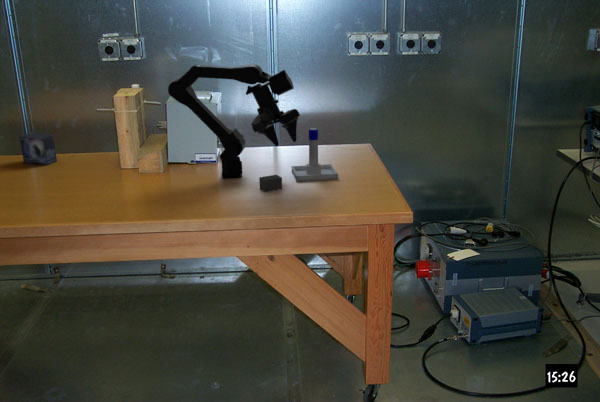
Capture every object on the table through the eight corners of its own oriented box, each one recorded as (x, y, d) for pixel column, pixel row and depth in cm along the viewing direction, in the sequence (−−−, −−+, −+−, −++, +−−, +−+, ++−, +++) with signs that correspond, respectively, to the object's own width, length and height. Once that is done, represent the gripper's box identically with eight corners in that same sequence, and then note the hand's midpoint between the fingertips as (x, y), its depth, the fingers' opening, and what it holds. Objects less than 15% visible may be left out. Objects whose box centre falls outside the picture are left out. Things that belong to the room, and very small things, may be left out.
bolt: (322, 175, 211) (307, 176, 211) (319, 171, 216) (305, 172, 215) (321, 130, 206) (306, 130, 206) (319, 127, 211) (304, 127, 210)
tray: (296, 181, 207) (296, 176, 206) (291, 171, 218) (291, 166, 217) (337, 179, 209) (337, 173, 208) (331, 169, 220) (331, 164, 219)
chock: (265, 192, 197) (264, 180, 196) (259, 189, 200) (259, 177, 199) (282, 189, 200) (281, 177, 198) (276, 186, 203) (276, 174, 202)
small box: (22, 164, 232) (18, 136, 228) (34, 159, 238) (30, 132, 234) (46, 166, 229) (42, 138, 226) (57, 161, 235) (54, 134, 231)
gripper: (232, 116, 207) (253, 158, 211) (267, 105, 193) (288, 150, 197) (254, 103, 214) (274, 144, 218) (290, 91, 200) (310, 135, 204)
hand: (286, 143), depth 209 cm, fingers open, 9 cm apart
